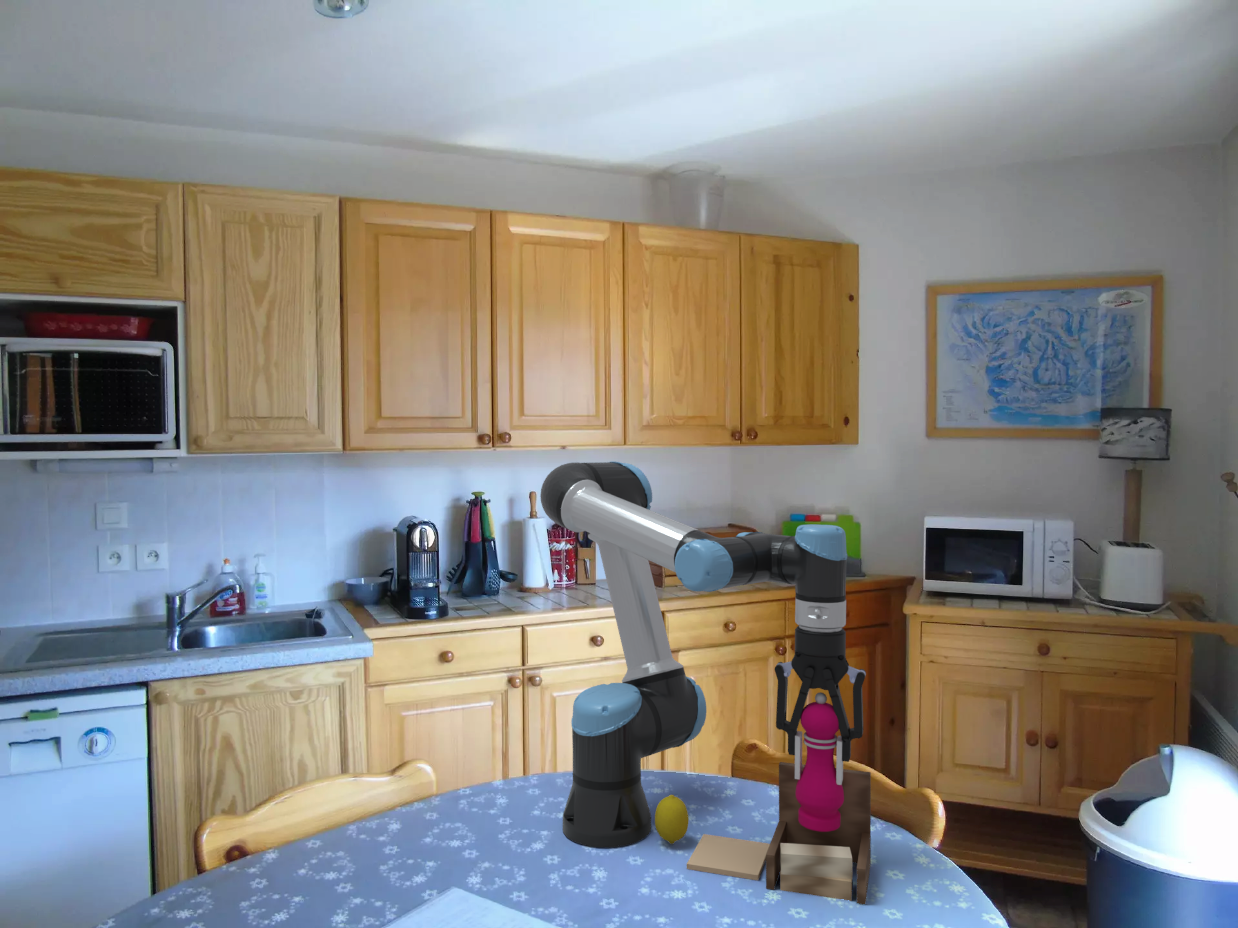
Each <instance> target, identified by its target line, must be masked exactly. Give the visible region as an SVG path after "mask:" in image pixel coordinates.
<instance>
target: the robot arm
mask: <svg viewBox="0 0 1238 928" xmlns="http://www.w3.org/2000/svg"><path fill="white" fill-rule="evenodd" d="M652 491H653V490H652V486H651V483H650V481H649V479H648V477H647V476H646V474H644V472H643V471H642V470H641V469H640V468H639V467H637V466H636V465H633V464H632V463H626V462H620V461H609V462H608V461H607V462H567V463H564V464H561V465H559V466H557V467H555V468H554V469H553V470H551V471H550V472H549V474H547V476H546V477H545V479H544V480H543V483H542V485H541V488H540V496H539V497H540V503H541V506H542V510H543V511H544V513H545V515H547V517H548V518H549V519H550V520H551V521H552V522H554V523H555V524H557V525H559V527H560V526H561V528H565V529H566V530H569V531H571V532H574V533H582V532H586V533H587V538H588V539H589V540H591V541H593V542H594V543H596V544H597V546H598V551H599V554H600V558H601V562H602V567H603V571H604V575H605V580H606V583H607V588H608V592H609V596H610V600H611V601H610V602H611V604H612V609H613V613H614V617H615V621H616V627H617V630H618V635H619V638H620V639H619V640H620V644H621V647H622V651H623V656H624V659H625V660H624V661H625V665H626V668H627V670H626V673H625V674H624V677H623V678H622V680H621V682H610V683H609V684H608V683H607V684H605V683H602V684H597V685H593V686H590V687H589V688H587V689H584V690H583V691H581V692H580V693H579V694H578V695H577V696H576V698H575V699H574V701H573V704H572V705H573V706H572V717H571V722H570V723H571V728H572V729H571V730H572V731H571V734H572V736H571V737H572V785H571V787H570V791H569V795H568V797H567V801H566V804H565V807H564V810H563V812H562V832H563V834H564V835H565V837H566V838H567V839H569V840H571V841H572V842H574V843H577V844H579V845H583V846H587V847H594V848H619V847H625V846H630V845H632V844H636V843H638V842H640V841H642V840H643V839H645V838H647V837H648V836H649V834H650V833H651V832H652V831H651V830H652V812H651V809H650V806H649V803H648V800H647V797H646V793H645V792H644V788H643V785H642V759H643V758H646V757H649V756H652V755H655V754H659V753H661V752H663V751H666V750H670V749H674V748H679V747H682V746H683V745H684V744H686V743H689V742H690V741H692V740H695V738H697V736H698V735H699V734H700V733H701V731H702V728H703V726H704V725H705V722H706V719H707V701H706V697H705V695H704V691H703V690H702V688H701V686H700V685H699V684H697V683H696V680H694V679H692V678H691V677H688V676H686V671H685V669H684V665H683V664H682V663H680V662H679V661H677V660H676V659H675V658H673V653H672V650H671V646H670V642H669V638H668V633H667V631H666V630H667V629H666V626H665V622H664V617H663V614H662V609H661V606H660V601H659V597H658V594H657V590H656V586H655V582H654V578H653V574H652V570H651V565H650V562H652V563H654V564H657V565H658V566H661V567H663V568H665V569H666V570H669V571H671V572H673V573H675V574H676V577H677V579H678V580H679V581H680V583H681V584H682V586H683V587H684V588H686V589H687V590H689V591H691V592H697V593H699V592H707V593H711V592H716V591H718V590H723V589H728V588H732V587H734V588H735V587H738V586H739V587H740V586H745V585H753V584H757V583H764V582H765V583H767V582H772V583H782V584H787V585H794V589H795V590H794V592H795V597H794V598H795V607H794V608H795V609H794V610H795V611H794V622H795V624H797V625H798V626H796V627H795V629H794V656H793V658H792V659H791V661H786V662H782V661H778V662H777V664H775V666H774V672H775V673H774V674H775V677H776V679H777V692H776V694H777V695H776V714H775V715H776V718H775V727H776V729H777V730H781V731H784V732H785V733H786V734H787V753H788V755H790V756H794V764H795V779H799V780H800V776H801V773H802V764H803V731H800V730H798V728H799V723H801V720H800V718H801V714H802V711H803V709H804V707H805V706H806V702H807V699H808V695H809V692H810V689H811V690H815V689H821V690H824V691H827V692H828V694H829V698H830V700H831V705H833V708H834V712H835V714H836V716H837V718H838V724H839V730H838V731H839V733H840V735H838V736H837V746H836V761H835V763H836V764H835V768H836V783H837V785H842V781H843V769H844V762H845V763H846V762H847V763H849V762H850V759H851V756H852V754H851V753H852V741H853V740H854V739H862V737H863V734H864V712H863V711H864V706H863V705H864V702H863V701H864V699H863V697H864V696H863V684H864V681H865V679H866V675H867V672H866V671H867V670H866V671H865V668H864V669H863V668H860V669H857V668H855V667H853V666H850V665H849V662H848V660H847V658H846V656H847V655H846V654H847V652H846V643H847V642H846V641H847V640H846V639H847V638H846V635H847V634H846V633H847V631H846V630H845V629H844V627H845V626H846V624H847V597H846V595H847V594H846V591H847V590H846V589H847V587H846V583H847V559H848V553H847V537H846V531H845V529H843V527H840V526H839V525H835V524H834V525H832V524H818V523H817V524H814V523H813V524H809V523H808V524H800V525H798V526H797V528H796V530H795V535H782V534H773V533H772V534H771V533H764V532H761V531H755V532H753V531H750V532H746V531H745V532H740V533H738V534H737V535H735V536H731V537H718V536H714V535H711V534H709V533H708V532H704V531H701V530H700V529H697V528H695V527H692V526H690V525H688V524H685V523H682V522H680V521H678V520H675V519H672V518H670V517H667V516H666V515H663V514H660V513H658V512H655V511H653V510H651V507H652V506H651V503H652V502H653V492H652ZM649 561H650V562H649ZM792 670H793V671H794V672H795V673H796V676H797V677H798V678H799V680H800V681H801V686H800V688H799V692H798V695H797V698H796V702H795V705H794V707H793V712H792V715H791V717H790V720H787V709H788V689H789V688H788V687H789V686H788V685H789V677H790V676H791V674H792ZM846 674H847V675H848V676H849V682H850V683H851V684H853V686H852V711H853V727H850V724H849V723H850V722H849V719H848V717H847V712H846V710H845V709H846V708H845V705H844V701H843V699H842V694H841V691H840V686H839V683H840V682H841V681H842V680H843V678H844V677H845V675H846Z"/></svg>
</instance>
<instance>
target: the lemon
mask: <svg viewBox="0 0 1238 928" xmlns="http://www.w3.org/2000/svg"><path fill="white" fill-rule="evenodd" d="M689 820H690V819H689V812H688V809H687V806H686V804H685V802H684V801H683V800H682V799H681V798H679V797H678V796H675V795H674V794H669V795H668V796H665V797H664V798H662V799H661V800H660V801H659V802H658V804H657V806H656V808H655V813H654V827H655V830H656V832H657V834H658V835H659V837H660V838H661V839H662V840H664V841H667V842H668V843H669V844H670V845H674V844H675V843H676V842H678V841H680V840H681V839H683V838H684V837H685V836H686V834H687V832H688V828H689V823H690V821H689Z"/></svg>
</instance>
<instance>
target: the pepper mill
mask: <svg viewBox="0 0 1238 928" xmlns="http://www.w3.org/2000/svg"><path fill="white" fill-rule="evenodd" d="M814 700H815V701H813V702H810V703H808V704H805V705H804V709H803V711H802V714H801V718H800V724H801V727H802V729H804V731H805V732H803V738H804V739H803V743H804V745H805V746H806V761H805V764H804V765H805V767H804V769H803V771H802V773H801V776H800V780H798V782H797V785H796V794H795V795H796V799H797V801H798V802H799V804H800V805H801V807H800V808H799V811H798V821H799V823H800V824H801V825H802V826H803V827H805V828H807V829H810V830H813V831H819V832H829V831H834V830H836V829H838V828H839V827H840V822H841V814H840V812H839V811H838V809H839V808H840V807H841V806H842V804H843V802H844V791H843V787H842V785H837V783H836V769H835V768H836V764H835V761H834V759H835V758H834V753H835V752H834V751H835V748H837V738H838V736H837V735H836V734H837V732H838V731H840V730H839V724H838V718H837V716H836V714H835V712H834V708H833V704H832V703H829V702H827V700H828V698H827V694H825V693H824V692H817V693H816V694H815V695H814Z"/></svg>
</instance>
